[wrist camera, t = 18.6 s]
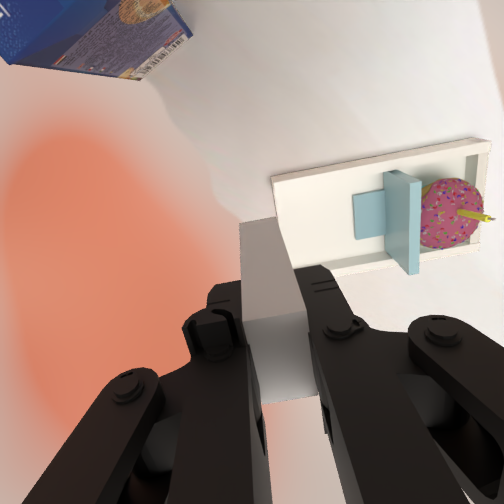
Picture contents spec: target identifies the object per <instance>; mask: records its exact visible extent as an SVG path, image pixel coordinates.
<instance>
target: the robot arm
mask: <svg viewBox="0 0 504 504" xmlns="http://www.w3.org/2000/svg"><path fill="white" fill-rule="evenodd" d="M239 231H240V263H241V280H238V281H232V282H227V283H221V284H216V285H215V286H214V287H213V288H212V289H211V291H210V292H209V293H208V297H207V306H206V308H205V309H202V310H200V311H198V312H196V313H194V314H192V315H191V316H190V317H189V318H188V319H187V320H186V321H185V323H184V325H183V327H182V331H183V334H184V337H185V340H186V342H187V345H188V348H189V352H190V354H191V360H190V362H189V363H187V364H186V365H185V366H183V367H181V368H179V369H177V370H175V371H173V372H170V373H168V374H166V375H163V376H161V377H158V375H157V373H156V372H154V371H153V370H152V369H148V368H144V367H142V368H135V369H131V370H129V371H126V372H124V373H121V374H120V375H118V376H117V377H115V378H114V379H112V380H111V381H110V382H109V383H108V384H107V385H106V386H105V387H104V389H102V391H101V392H100V394H99V395H98V396H97V398H96V399H95V401H94V402H93V404H92V405H91V406H90V408H89V409H88V411H87V412H86V414H85V415H84V416H83V418H82V419H81V421H80V422H79V423H78V425H77V426H76V428H75V429H74V430H73V432H72V433H71V435H70V436H69V437H68V439H67V440H66V442H65V443H64V444H63V446H62V447H61V449H60V450H59V451H58V453H57V454H56V456H55V457H54V459H53V460H52V461H51V463H50V464H49V466H48V467H47V468H46V470H45V471H44V473H43V474H42V476H41V477H40V479H39V480H38V481H37V482H36V484H35V485H34V487H33V488H32V490H31V491H30V492H29V494H28V495H27V497H26V498H25V499H24V501H23V502H22V504H272V493H271V482H270V472H269V461H268V450H267V440H266V429H265V421H264V417H263V413H262V408H261V402H262V404H269V403H274V402H281V401H287V400H293V399H299V398H304V397H310V396H317V395H318V392H319V396H320V401H321V409H322V416H323V422H324V430H325V434H328V436H329V441H330V444H331V448H332V452H333V456H334V459H335V463H336V467H337V471H338V474H339V478H340V482H341V486H342V489H343V493H344V497H345V500H346V504H470V503H469V501H468V499H467V497H466V496H465V494H464V492H463V491H465V493H466V494H467V495H468V496H469V498H470V499H471V500H472V501H473V502H474V503H475V504H504V347H502V346H501V345H499V344H498V343H496V342H495V341H493V340H492V339H490V338H489V337H487V336H486V335H484V334H483V333H481V332H480V331H478V330H477V329H475V328H474V327H472V326H471V325H469V324H467V323H465V322H463V321H461V320H459V319H457V318H453V317H449V316H445V315H428V316H423V317H419V318H418V319H416V320H414V321H413V322H411V324H410V326H409V328H408V333H405V332H387V331H379V330H376V329H372V328H370V327H369V325H368V324H367V323H366V322H365V321H364V320H363V319H362V318H360V317H358V316H356V315H354V314H353V312H352V310H351V308H350V306H349V304H348V303H347V301H346V299H345V297H344V295H343V293H342V291H341V290H340V288H339V286H338V284H337V282H336V281H335V278H334V276H333V275H332V273H331V271H330V270H329V269H327V268H325V267H324V266H322V265H320V264H319V265H314V266H308V267H303V268H297V269H293V267H292V264H291V261H290V258H289V255H288V252H287V249H286V246H285V243H284V240H283V237H282V234H281V231H280V228H279V225H278V222H277V219H276V217H270V218H265V219H260V220H255V221H249V222H244V223H240V224H239ZM461 488H462V489H463V490H462V489H461Z"/></svg>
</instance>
